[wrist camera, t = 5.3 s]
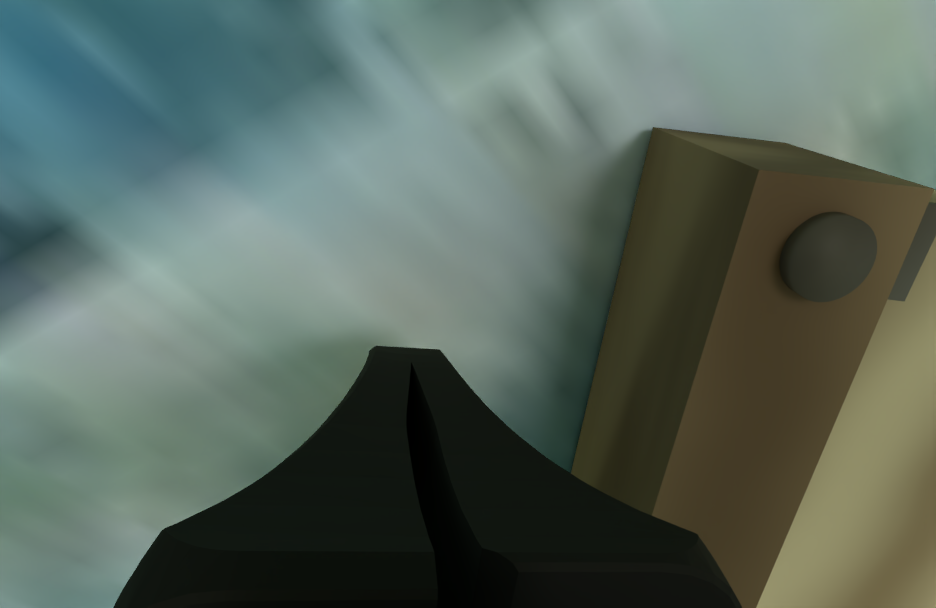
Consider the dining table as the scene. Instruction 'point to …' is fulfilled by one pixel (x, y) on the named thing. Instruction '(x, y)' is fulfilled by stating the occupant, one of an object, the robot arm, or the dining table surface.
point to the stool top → (876, 467)
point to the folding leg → (738, 335)
